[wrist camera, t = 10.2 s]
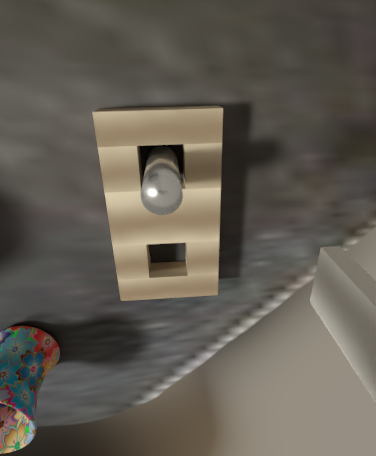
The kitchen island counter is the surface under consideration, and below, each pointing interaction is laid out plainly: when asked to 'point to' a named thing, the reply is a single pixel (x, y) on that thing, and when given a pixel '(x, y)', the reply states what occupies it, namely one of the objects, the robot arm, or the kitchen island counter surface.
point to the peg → (161, 182)
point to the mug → (22, 382)
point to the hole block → (171, 223)
